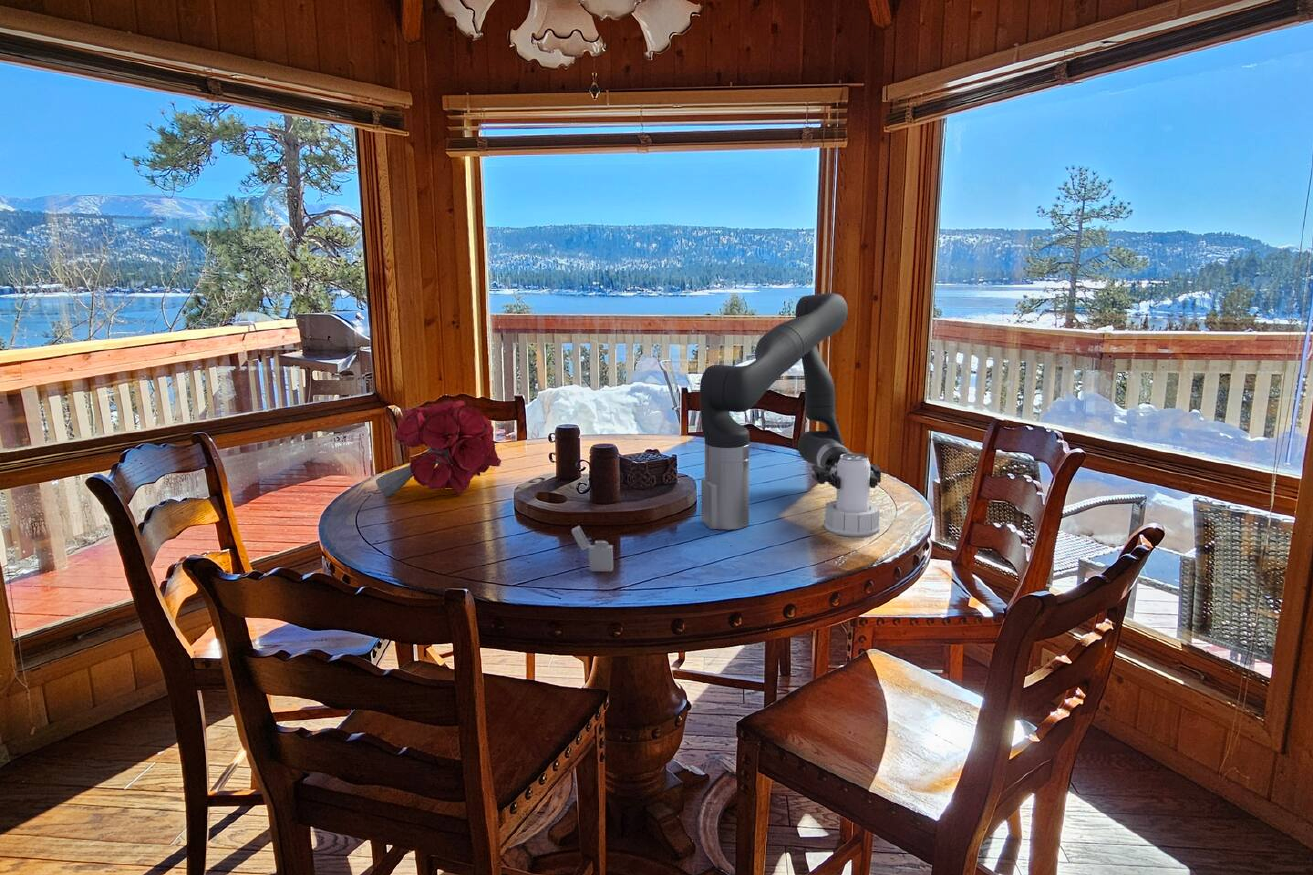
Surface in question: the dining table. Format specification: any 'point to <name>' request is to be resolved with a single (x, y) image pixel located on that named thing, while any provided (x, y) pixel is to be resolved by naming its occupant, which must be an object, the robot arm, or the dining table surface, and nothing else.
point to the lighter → (595, 552)
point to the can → (853, 483)
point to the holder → (851, 521)
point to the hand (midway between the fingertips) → (856, 483)
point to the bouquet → (443, 447)
